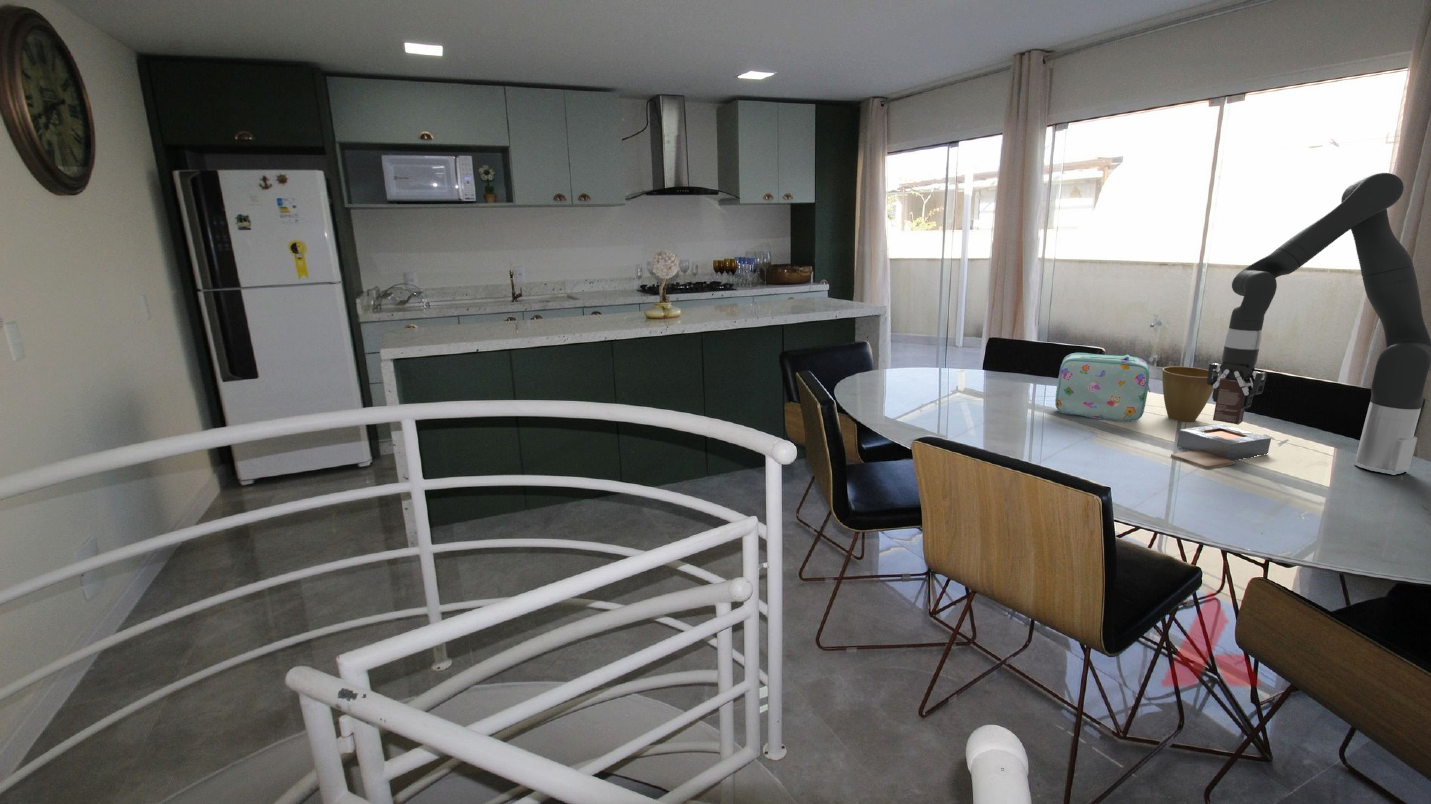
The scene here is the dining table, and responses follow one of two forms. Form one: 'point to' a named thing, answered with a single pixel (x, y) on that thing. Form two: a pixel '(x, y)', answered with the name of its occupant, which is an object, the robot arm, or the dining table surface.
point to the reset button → (1224, 435)
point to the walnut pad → (1202, 459)
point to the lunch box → (1103, 386)
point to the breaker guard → (1223, 442)
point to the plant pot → (1185, 392)
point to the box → (1229, 402)
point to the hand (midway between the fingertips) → (1230, 404)
